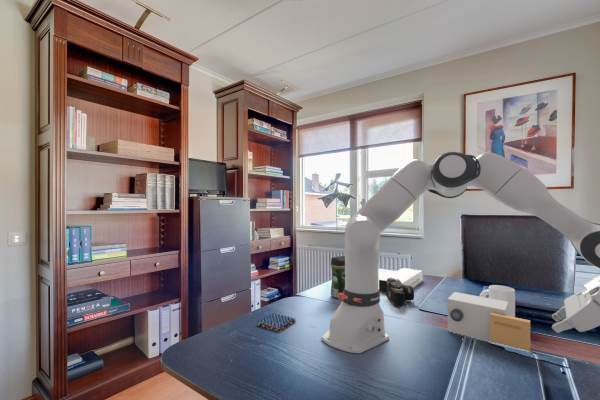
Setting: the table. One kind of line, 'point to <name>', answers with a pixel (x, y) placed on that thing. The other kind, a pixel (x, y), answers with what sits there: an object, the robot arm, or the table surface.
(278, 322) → the woven mat
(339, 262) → the coffee jar
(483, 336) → the housing
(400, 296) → the camera
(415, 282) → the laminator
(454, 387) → the table surface
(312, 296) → the table surface
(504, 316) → the side door
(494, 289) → the mug
